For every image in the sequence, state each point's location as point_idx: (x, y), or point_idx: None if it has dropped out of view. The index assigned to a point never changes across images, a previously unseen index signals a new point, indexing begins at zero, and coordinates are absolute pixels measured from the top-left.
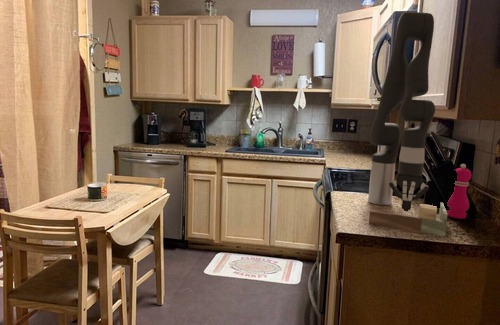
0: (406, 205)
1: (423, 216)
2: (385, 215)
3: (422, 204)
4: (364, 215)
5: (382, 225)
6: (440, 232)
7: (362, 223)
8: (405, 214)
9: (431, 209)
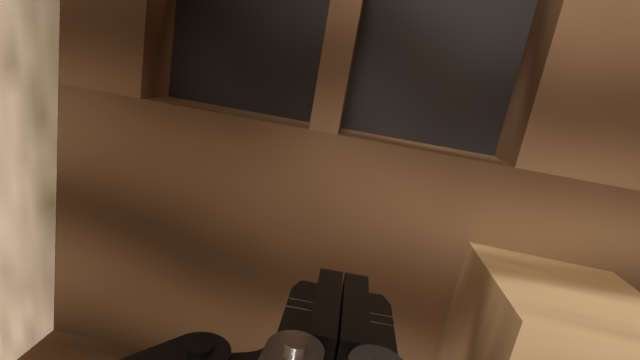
0: (339, 321)
1: None
2: None
3: (549, 344)
4: (42, 90)
5: None
6: None
7: (50, 307)
8: (366, 159)
9: None
